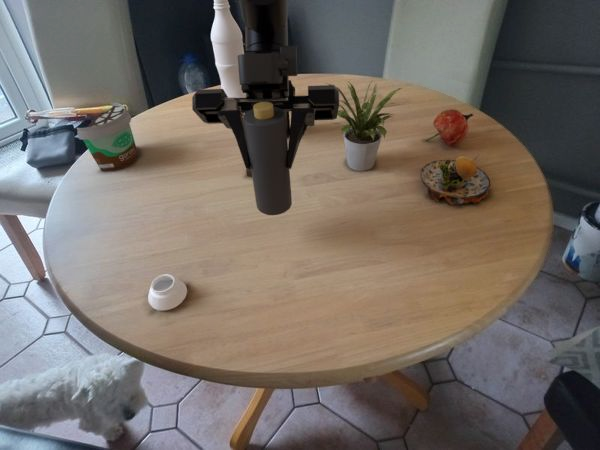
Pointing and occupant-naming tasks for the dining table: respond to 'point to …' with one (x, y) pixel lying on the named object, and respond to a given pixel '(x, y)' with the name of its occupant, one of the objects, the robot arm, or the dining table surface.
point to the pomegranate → (451, 126)
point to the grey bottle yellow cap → (268, 157)
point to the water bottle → (227, 49)
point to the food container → (110, 139)
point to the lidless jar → (166, 292)
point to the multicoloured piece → (455, 180)
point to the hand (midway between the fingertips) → (268, 168)
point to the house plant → (363, 129)
